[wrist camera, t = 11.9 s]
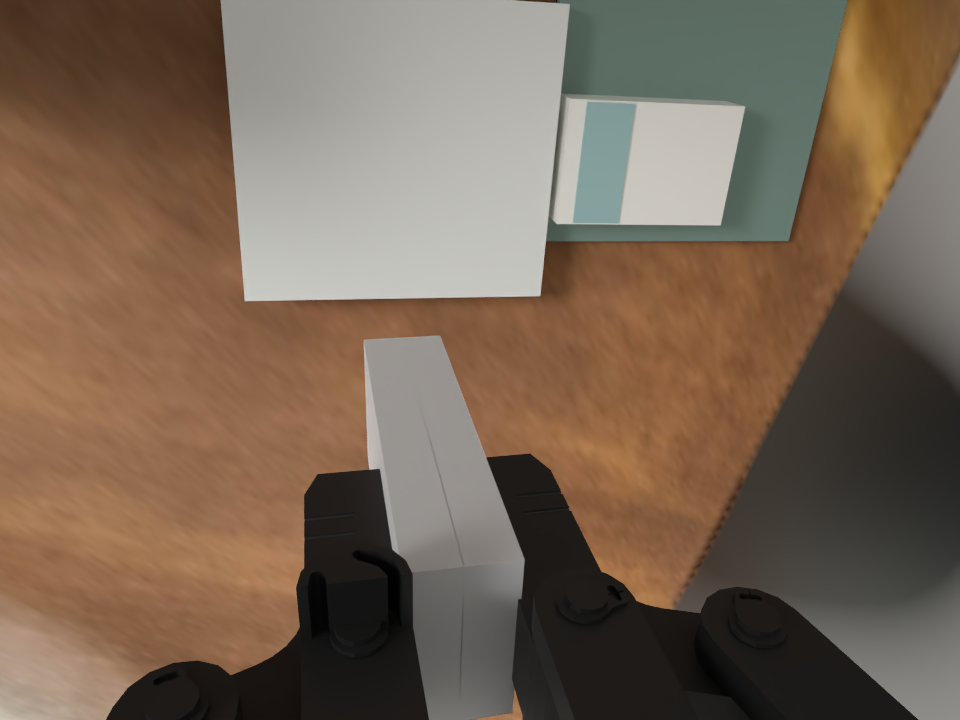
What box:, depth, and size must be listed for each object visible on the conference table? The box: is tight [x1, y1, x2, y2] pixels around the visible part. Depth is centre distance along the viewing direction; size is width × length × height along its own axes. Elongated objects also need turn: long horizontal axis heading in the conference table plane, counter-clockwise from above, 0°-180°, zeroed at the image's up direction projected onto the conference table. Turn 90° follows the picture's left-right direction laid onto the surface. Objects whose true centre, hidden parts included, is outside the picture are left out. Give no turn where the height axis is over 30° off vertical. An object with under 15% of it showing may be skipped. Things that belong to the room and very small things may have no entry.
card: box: [548, 93, 745, 225], centre depth 38 cm, size 6×9×2 cm, turn 86°
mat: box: [546, 0, 848, 241], centre depth 39 cm, size 14×15×1 cm
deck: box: [221, 0, 570, 301], centre depth 36 cm, size 14×15×2 cm
